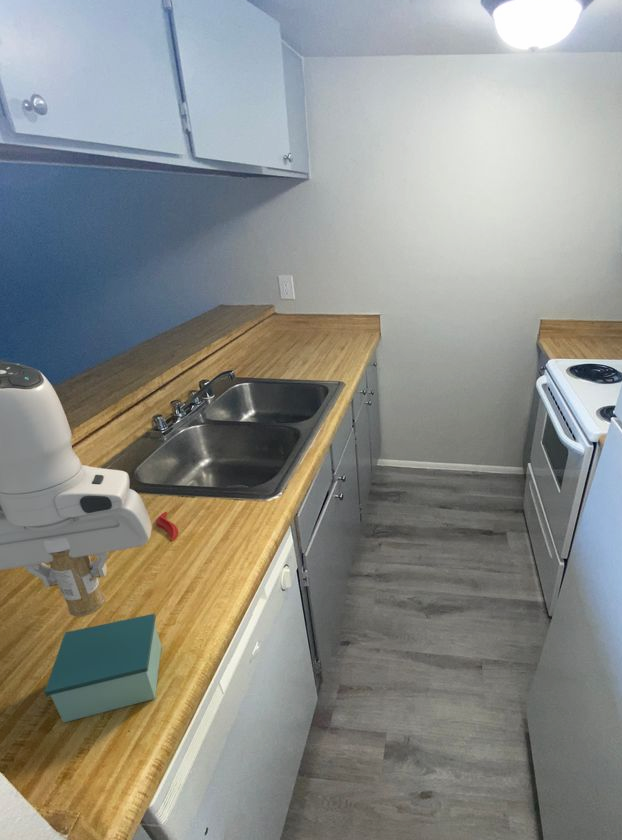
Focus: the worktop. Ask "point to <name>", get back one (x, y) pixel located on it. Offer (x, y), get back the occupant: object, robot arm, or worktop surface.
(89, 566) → the sprinkles bottle
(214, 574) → the worktop surface
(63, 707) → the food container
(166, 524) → the cayenne pepper
